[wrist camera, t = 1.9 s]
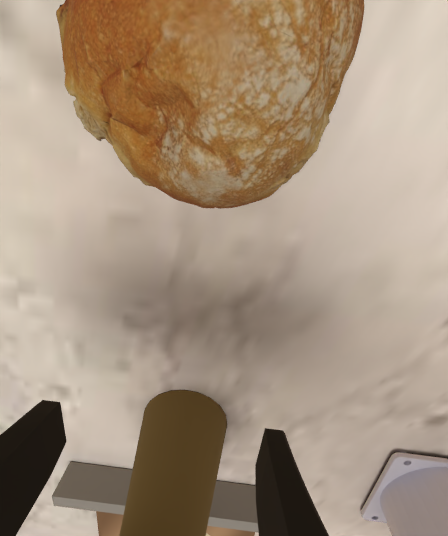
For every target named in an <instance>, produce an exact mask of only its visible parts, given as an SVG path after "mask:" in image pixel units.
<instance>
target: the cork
mask: <svg viewBox="0 0 448 536" xmlns="http://www.w3.org/2000/svg"><path fill="white" fill-rule="evenodd" d="M226 428H227V420H226V415H225V413H224V411H223V410H222V408H221V407H220V405H218V404H217V403H216V402H215V401H213V400H212V399H211V398H209V397H207V396H205V395H203V394H200V393H198V392H193V391H187V390H174V391H168V392H165V393H162V394H159V395H158V396H156V397H155V398H153V399H152V400H151V401H150V402H149V403H148V405H147V407H146V408H145V411H144V416H143V421H142V426H141V431H140V436H139V441H138V446H137V451H136V456H135V461H134V466H133V471H132V475H131V480H130V485H129V490H128V495H127V500H126V505H125V510H124V515H123V520H122V525H121V530H120V535H119V536H206V531H207V526H208V520H209V515H210V510H211V505H212V500H213V495H214V489H215V484H216V479H217V474H218V469H219V464H220V459H221V453H222V448H223V443H224V438H225V433H226Z"/></svg>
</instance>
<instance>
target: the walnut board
mask: <svg viewBox="0 0 448 536" xmlns="http://www.w3.org/2000/svg"><path fill="white" fill-rule="evenodd" d="M96 513H97V522H98V531H99V536H119V535H120V530H121V525H122V520H123V515H122V514H114V513H106V512H99V511H96ZM254 534H255V532H251V531H244V530H236V529H228V528H221V527H213V526H207V531H206V536H254Z"/></svg>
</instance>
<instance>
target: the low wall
mask: <svg viewBox="0 0 448 536" xmlns="http://www.w3.org/2000/svg"><path fill="white" fill-rule="evenodd" d="M132 471H133V470H131V469H124V468H116V467H108V466H101V465H93V464H85V463H78V462H70V463H69V465H68V467H67V469H66V471H65V473H64V474H63V476H62V478H61V480H60V482H59V484H58V486H57V488H56V489H55V491H54V493H53V495H52V499H53V504H54V506H61V507H68V508H76V509H83V510H91V511H99V512H106V513H114V514H122V515H124V510H125V505H126V500H127V495H128V490H129V485H130V480H131V475H132ZM208 526H213V527H221V528H228V529H236V530H244V531H251V532H259V531H258V520H257V509H256V486H254V485H246V484H238V483H231V482H223V481H216V484H215V489H214V495H213V500H212V505H211V510H210V515H209V520H208Z"/></svg>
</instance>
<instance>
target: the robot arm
mask: <svg viewBox="0 0 448 536" xmlns="http://www.w3.org/2000/svg"><path fill="white" fill-rule="evenodd" d="M65 443H66V436H65V430H64V423H63V417H62V411H61V405H60V402H53V401H46V400H42V401H41V402H40V403H38V404H37V405H36V406H35V407H34V408H32V409H31V410H30V411H29V412H27V413H26V414H25V415H24V416H23V417H22V418H20V419H19V420H18V421H17V422H16V423H14V424H13V425H12V426H11V427H10V428H8V429H7V430H6V431H5V432H3V433H2V434H1V435H0V536H16V534H17V532H18V531H19V529H20V527H21V526H22V524H23V522H24V520H25V519H26V517H27V515H28V514H29V512H30V510H31V509H32V507H33V505H34V503H35V502H36V500H37V498H38V497H39V495H40V493H41V491H42V490H43V488H44V486H45V484H46V483H47V481H48V479H49V477H50V476H51V474H52V472H53V470H54V467H55V465H56V463H57V461H58V459H59V457H60V455H61V452H62V450H63V448H64V446H65ZM256 509H257V520H258V531H259V536H329V535H328V533H327V531H326V529H325V527H324V525H323V523H322V521H321V519H320V516H319V514H318V512H317V510H316V508H315V506H314V504H313V501H312V499H311V497H310V495H309V493H308V491H307V488H306V486H305V484H304V481H303V479H302V477H301V474H300V472H299V470H298V467H297V465H296V462H295V460H294V457H293V455H292V452H291V449H290V447H289V444H288V441H287V438H286V435H285V433H284V432H283V431H282V430H274V429H266V428H265V431H264V435H263V439H262V443H261V446H260V450H259V454H258V458H257V462H256ZM361 515H362V518H363V519H365V520H369V521H377V522H384V523H387V524H388V526H389V529H390V531H391V534H392V536H448V459H446V458H439V457H431V456H423V455H416V454H408V453H401V452H397V453H394V454H392V456H391V457H390V459H389V461H388V463H387V465H386V466H385V468H384V470H383V472H382V474H381V476H380V477H379V479H378V481H377V483H376V485H375V487H374V488H373V490H372V492H371V494H370V496H369V498H368V499H367V501H366V503H365V505H364V507H363V508H362V510H361Z"/></svg>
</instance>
